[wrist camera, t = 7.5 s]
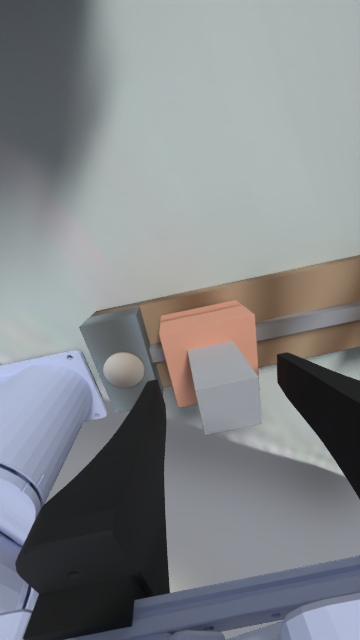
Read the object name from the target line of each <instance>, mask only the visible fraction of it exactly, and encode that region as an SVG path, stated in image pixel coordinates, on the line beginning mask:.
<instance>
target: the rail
mask: <svg viewBox="0 0 360 640" xmlns="http://www.w3.org/2000/svg"><path fill="white" fill-rule="evenodd" d="M233 300H237V301H238V302H239V303H240V304H242V305H243V306H244V307H246V308H247V309H248V310H250V311H251V312H252V313H253V314H255V326H256V342H257V357H258V368H259V367H264V366H268V365H273V364H277V354H281V353H285V352H288V353H291V354H293V355H296V356H298V357H301V358H307V357H312V356H317V355H322V354H326V353H331V352H336V351H341V350H346V349H351V348H355V347H360V255H359V256H354V257H349V258H344V259H340V260H335V261H330V262H326V263H321V264H316V265H311V266H307V267H302V268H297V269H293V270H288V271H283V272H279V273H274V274H269V275H264V276H260V277H255V278H250V279H246V280H241V281H236V282H232V283H227V284H222V285H217V286H213V287H208V288H203V289H199V290H194V291H189V292H185V293H180V294H175V295H170V296H166V297H161V298H156V299H152V300H147V301H142V302H137V303H133V304H128V305H123V306H119V307H114V308H109V309H105V310H100V311H96V312H95V313H94V314H93V315H92V316H91V317H89V318H88V319H87V320H86V321H85V322H84V323H83V324H82V325H81V326H80V327H79V328H80V330H81V333H82V335H83V337H84V340H85V342H86V344H87V347H88V349H89V352H90V354H91V356H92V359H93V361H94V363H95V366H96V368H97V370H98V373H99V375H100V377H101V380H102V382H103V384H104V387H105V389H106V391H107V394H108V396H109V399H110V401H111V403H112V406H113V407H114V410H115V413H118V412H124V411H129V410H131V409H132V408H133V406H134V404H135V403H136V401H137V399H138V398H139V396H140V394H141V392H142V390H143V388H144V386H145V385H146V383H147V381H152V380H156V379H158V382H159V386H160V389H161V393H162V396H163V387H167V386H172V381H171V377H170V374H169V370H168V366H167V362H166V358H165V355H164V351H163V347H162V343H161V340H160V336H159V331H160V320H161V316H162V315H167V314H172V313H176V312H181V311H186V310H191V309H195V308H200V307H205V306H209V305H214V304H219V303H224V302H228V301H233Z"/></svg>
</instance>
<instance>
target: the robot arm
mask: <svg viewBox="0 0 360 640" xmlns="http://www.w3.org/2000/svg"><path fill="white" fill-rule="evenodd" d="M69 355H71V356H72V357H73V358H70V357H69ZM277 380H278V384H279V385H280V387H281V389H282V390H283V392H284V393H285V395H286V397H287V398H288V399H289V401H290V402H291V403H292V404H293V406H294V407H295V408H296V409H297V411H298V412H299V413H300V414H301V415H302V417H303V418H304V419H305V420H306V422H307V423H308V424H309V425H310V426H311V428H312V429H313V430H314V431H315V433H316V434H317V435H318V437H319V438H320V439H321V440H322V442H323V443H324V445H325V446H326V448H327V449H328V451H329V452H330V454H331V455H332V457H333V458H334V459H335V461H336V462H337V464H338V466H339V467H340V469H341V470H342V472H343V473H344V475H345V476H346V478H347V479H348V481H349V482H350V484H351V486H352V487H353V489H354V491H355V492H356V494H357V495H358V497H359V499H360V381H359V380H356V379H353V378H350V377H347V376H345V375H342V374H339V373H337V372H334V371H332V370H329V369H327V368H324V367H322V366H319V365H317V364H315V363H312V362H310V361H308V360H305V359H303V358H301V357H298V356H296V355H293V354H291V353H288V352H285V353H281V354H277ZM96 413H98V414H96ZM107 413H108V411H107V408H106V406H105V404H104V402H103V399H102V397H101V395H100V393H99V390H98V388H97V386H96V384H95V381H94V379H93V377H92V375H91V372H90V370H89V368H88V366H87V363H86V361H85V359H84V356H83V354H82V353H81V351H79V350H72V351H67V352H62V353H58V354H53V355H48V356H43V357H39V358H34V359H29V360H24V361H20V362H15V363H10V364H5V365H1V366H0V640H225V637H224V635H223V634H222V633H221V632H222V631H226V630H231V629H237V628H242V627H247V626H252V625H257V624H262V623H268V622H273V621H278V620H283V619H284V620H283V621H281V622H278V623H275V624H272V625H269V626H266V627H263V628H259V629H257V630H254V631H251V632H247V633H244V634H241V635H238V636H235V637H232V638H229V639H227V640H360V556H355V557H350V558H345V559H340V560H335V561H330V562H325V563H320V564H315V565H310V566H305V567H300V568H295V569H289V570H284V571H280V572H274V573H269V574H264V575H259V576H254V577H249V578H244V579H239V580H234V581H230V582H224V583H219V584H214V585H209V586H204V587H199V588H194V589H189V590H184V591H179V592H174V593H170V589H169V575H168V574H169V573H168V560H167V559H168V558H167V541H166V520H165V495H164V456H165V439H166V438H165V437H166V408H165V403H164V399H163V396H162V393H161V389H160V386H159V382H158V379H156V380H152V381H147V383H146V385H145V386H144V388H143V390H142V392H141V394H140V396H139V398H138V399H137V401H136V403H135V404H134V406H133V408H132V409H131V411H130V413H129V414H128V416H127V417H126V419H125V420H124V422H123V423H122V425H121V426H120V427H119V429H118V430H117V432H116V433H115V434H114V435H113V437H112V438H111V439H110V441H109V442H108V443H107V444H106V445H105V446H104V447H103V449H102V450H101V451H100V452H99V453H98V454H97V455H96V457H95V458H94V459H93V460H92V461H91V462H90V463H89V464H88V465H87V466H86V467H85V468H84V469H83V470H82V471H81V472H80V473H79V474H78V475H77V476H76V477H75V478H74V479H73V480H72V481H71V482H69V484H67V485H66V486H65V487H64V488H63V489H62V490H60V491H59V492H58V493H57V494H56V495H55V496H54V497H53V498H51V499H50V500H49V501H48V502H47V503H46V504H45V502H46V499H47V497H48V495H49V493H50V491H51V489H52V487H53V485H54V482H55V481H56V478H57V476H58V474H59V472H60V470H61V468H62V466H63V464H64V461H65V460H66V457H67V455H68V453H69V451H70V449H71V447H72V445H73V443H74V441H75V439H76V436H77V434H78V432H79V430H80V428H81V426H82V424H83V422H84V421H90V420H94V419H99V418H104V417H106V416H107Z"/></svg>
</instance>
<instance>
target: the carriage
mask: <svg viewBox="0 0 360 640" xmlns="http://www.w3.org/2000/svg"><path fill="white" fill-rule="evenodd" d="M159 336H160V340H161V343H162V347H163V351H164V355H165V358H166V362H167V366H168V370H169V374H170V377H171V381H172V385H173V389H174V392H175V396H176V400H177V404H178V407H184V406H189V405H194V404H198V405H199V410H200V415H201V419H202V424H203V428H204V433H205V435H208V434H213V433H218V432H223V431H228V430H233V429H238V428H243V427H248V426H253V425H258V424H262V423H261V408H260V392H259V391H260V388H259V373H258V357H257V342H256V326H255V314H253V313H252V312H251V311H250V310H248V309H247V308H246V307H244V306H243V305H242V304H240V303H239V302H238V301H237V300H233V301H228V302H224V303H219V304H214V305H209V306H205V307H200V308H195V309H191V310H186V311H181V312H176V313H172V314H167V315H162V316H161V320H160V331H159Z"/></svg>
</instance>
